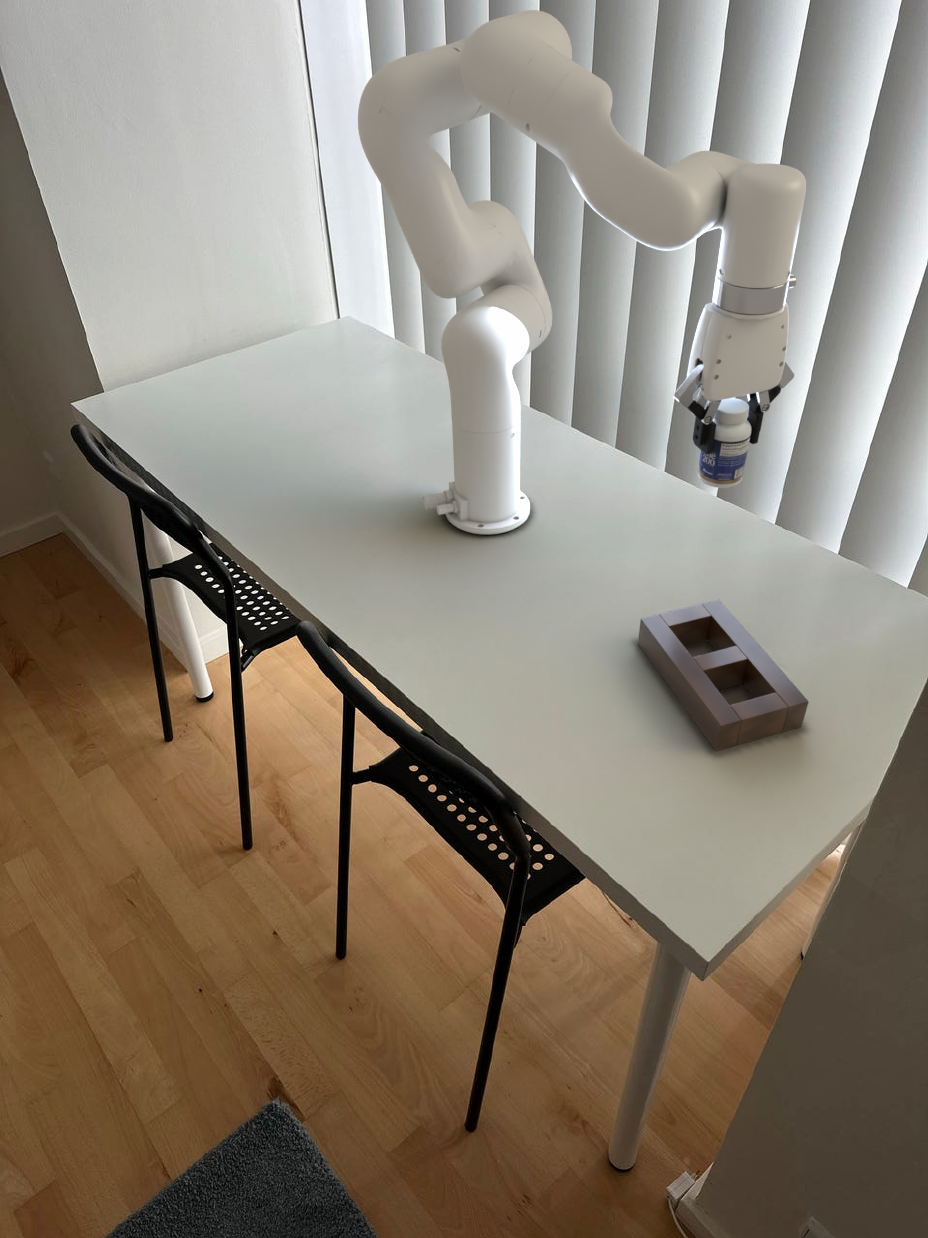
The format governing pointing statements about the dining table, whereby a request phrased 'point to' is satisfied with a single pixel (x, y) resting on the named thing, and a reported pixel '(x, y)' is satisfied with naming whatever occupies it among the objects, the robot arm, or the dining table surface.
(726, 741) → the stand
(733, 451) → the pill bottle
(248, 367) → the dining table surface
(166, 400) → the dining table surface
